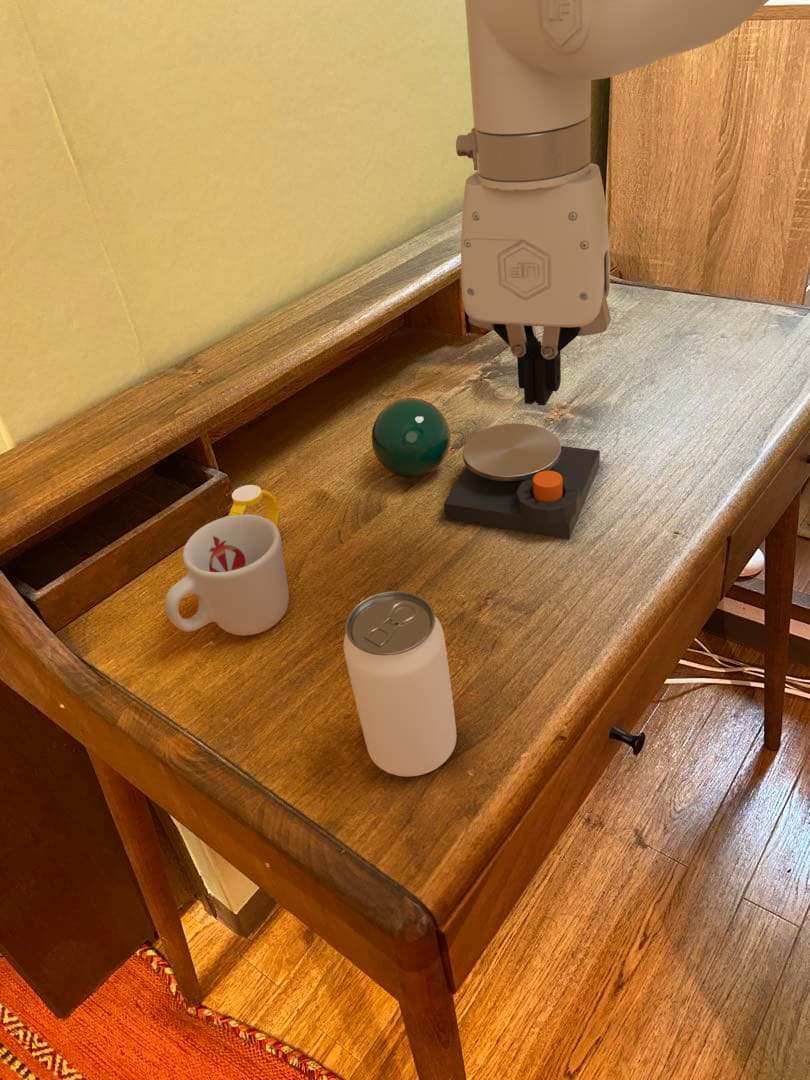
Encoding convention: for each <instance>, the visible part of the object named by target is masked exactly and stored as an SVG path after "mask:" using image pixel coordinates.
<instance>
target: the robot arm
mask: <svg viewBox="0 0 810 1080" xmlns="http://www.w3.org/2000/svg"><path fill="white" fill-rule="evenodd" d="M769 1H770V0H464V5H465V18H466V19H465V20H466V31H467V33H466V34H467V45H468V47H467V49H468V59H469V60H468V61H469V74H470V75H469V76H470V88H471V89H470V90H471V103H472V117H473V118H472V119H473V127H472V128H471V130H470V131H471V132H468V133H467V134H458V136H457V137H456V141H455V150H456V154H457V156H458V157H467V158H468V159H471V160H472V162H473V170H474V171H476V172H474V173H473V174H471V175H470V176H468V177H467V178H466V180H465V185H464V190H463V191H464V193H463V203H462V213H461V214H462V216H461V231H460V232H461V234H460V242H461V243H460V281H461V297H462V305H463V310H464V313H465V314H466V315H467V316H468V323H469V324H470V325H472V326H475V327H477V328H480V329H484V330H487V331H490V332H491V331H494V332H495V333H496V335H498V337H500V338H501V339H502V340H503V341H504V342H505V344H507V345H508V346H509V348H510V352H511V354H512V356H513V357H515V358H517V359H516V360H517V361H516V362H517V380H518V381H517V382H518V383H517V384H518V388H519V389H523V392H524V393H523V395H524V396H523V397H524V404H525V405H533V404H535V403H536V404H537V405H538V406H546V405H547V403H548V401H549V400H550V398H551V396H552V394H553V393H554V392H558V391H559V388H560V386H561V381H562V371H561V369H562V368H561V367H562V366H561V365H562V363H561V362H562V361H561V351H563V349H565V348H566V347H567V346H568V345H569V344H570V343H571V342H572V341H573V340H575V339H576V338H577V337H580V336H582V337H585V336H591V335H597V334H603V333H605V332H606V331H607V330H608V328H609V326H610V324H611V322H612V317H611V313H610V309H609V304H608V300H607V298H608V296H609V292H610V284H611V255H610V253H611V252H610V237H609V236H610V235H609V223H608V213H607V204H606V198H605V197H606V196H605V190H604V184H603V178H602V173H601V170H600V169H601V168H600V166H599V165H598V164H596V163H591V130H592V128H591V127H592V125H591V122H592V118H591V117H592V115H591V114H592V112H591V111H592V81H593V80H594V81H596V80H602V79H608V78H609V79H610V78H612V77H616V76H619V75H622V74H626V73H628V72H631V71H634V70H637V69H640V68H644V67H646V66H650V65H651V64H653V63H655V62H658V61H660V60H664V59H666V58H670V57H673V56H676V55H679V54H683V53H686V52H689V51H692V50H696V49H698V48H701V47H704V46H706V45H709V44H711V43H713V42H715V41H717V40H719V39H721V38H723V37H725V36H727V35H728V34H730V32H732V31H734V30H735V29H737V28H739V26H741V25H742V24H744V23H745V22H746V21H748V19H750V18H751V17H752V16H753V15H754V14H755V13H757V12H758V11H759V10H761V9H762V8H763V7H764V5H766V4H767V3H768V2H769ZM536 327H543V331H542V340H539V339H538V337H537V331H536Z"/></svg>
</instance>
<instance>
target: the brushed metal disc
mask: <svg viewBox="0 0 810 1080" xmlns="http://www.w3.org/2000/svg"><path fill="white" fill-rule="evenodd" d="M561 446H562V445H561V441H560V440H559V438H558V437H557V435H555V434H554V433H553V432H551V431H550V430H549V429H547V428H544V427H542V426H538V425H534V424H529V423H519V422H517V423H515V422H514V423H513V422H512V423H504V424H503V423H502V424H497V425H493V426H490V427H487V428H484V429H482V430H480V431H478V432H476V433H475V434H473V435H472V436H471V437H470V438H468V440H466V442H465V443H464V446H463V448H462V459H463V462H464V465H465V466H466V467H468V468H469V469H470V470H471V471H472V472H473V473H475V474H477V475H479V476H481V477H484V478H487V479H491V480H496V481H520V480H526V479H530V478H533V477H534V476H535V475H536V474H537V473H539V472H542V471H549V470H550V469H552V468H553V467H554V466H555V465H556V464H557V462H558V461H559V459H560V456H561Z"/></svg>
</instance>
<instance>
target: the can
mask: <svg viewBox="0 0 810 1080" xmlns="http://www.w3.org/2000/svg"><path fill="white" fill-rule="evenodd" d="M435 614H436V613H435V610H434V608H433V606H432V605H431V604H430V603H429V602H428V600H427V599H425V598H424V597H422V596H421V595H418V594H416V593H413V592H410V591H405V590H388V591H382V592H379V593H375V594H373V595H370V596H368V597H366V598H365V599H363V600H361V601H360V602H358V603H357V604H356V605H355V606H354V607H353V608H352V610H351V611H350V612H349V614H348V616H347V618H346V620H345V621H346V622H345V635H344V637H343V638H344V639H343V652H344V658H345V663H346V666H347V667H346V668H347V671H348V676H349V679H350V684H351V688H352V693H353V697H354V701H355V705H356V709H357V713H358V718H359V722H360V726H361V730H362V734H363V738H364V742H365V745H366V750H367V753H368V756H369V757H370V759H371V761H372V762H373V763H374V764H375V765H376V766H377V767H378V768H379V769H381V770H382V771H384V772H386V773H388V774H390V775H395V776H399V777H418V776H421V775H422V776H423V775H425V774H429V773H431V772H432V771H435V770H436V769H438V768H439V767H442V765H443V764H444V763H445V762H446V761H448V759H449V758H450V757H451V755H452V754H453V752H454V749H455V747H456V744H457V738H458V737H457V725H456V715H455V707H454V701H453V691H452V684H451V677H450V667H449V662H448V661H449V660H448V653H447V646H446V640H445V633H444V629H443V626H442V624H441V622H440V620H439V619H438V617H437V616H436V615H435Z"/></svg>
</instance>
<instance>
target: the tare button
mask: <svg viewBox="0 0 810 1080" xmlns="http://www.w3.org/2000/svg"><path fill="white" fill-rule="evenodd" d="M562 495H563V478H562V476H561V475H560V474H559V473H557V472H555V471H542V472H539V473H537V474H536V475H535V476H534V477H533V496H534V498H535V499H536V500H538V501H544V502H552V501H557V500H559V499H560V498H561V497H562Z"/></svg>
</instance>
